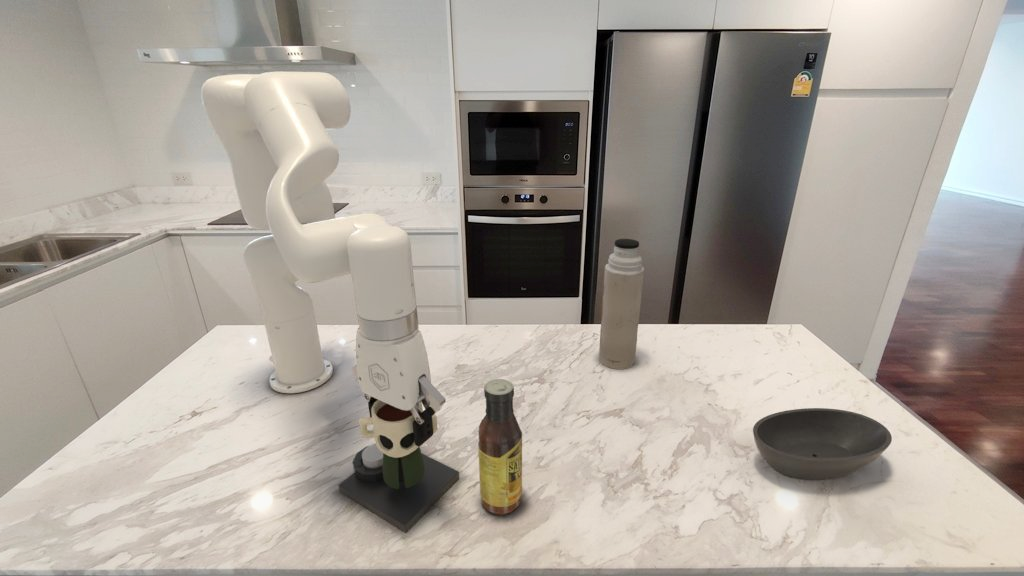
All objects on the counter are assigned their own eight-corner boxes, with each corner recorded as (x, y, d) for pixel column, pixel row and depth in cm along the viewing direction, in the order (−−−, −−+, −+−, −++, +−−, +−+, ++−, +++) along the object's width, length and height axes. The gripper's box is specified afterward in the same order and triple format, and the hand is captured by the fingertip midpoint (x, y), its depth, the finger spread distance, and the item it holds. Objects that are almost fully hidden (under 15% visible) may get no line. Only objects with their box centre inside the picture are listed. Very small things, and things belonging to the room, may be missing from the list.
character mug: (363, 497, 69) (352, 426, 64) (371, 461, 76) (361, 393, 70) (440, 491, 70) (435, 420, 65) (441, 455, 77) (436, 388, 71)
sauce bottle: (517, 520, 69) (516, 405, 61) (475, 513, 70) (469, 399, 62) (525, 486, 74) (525, 377, 67) (486, 480, 76) (482, 372, 68)
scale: (333, 488, 75) (330, 473, 73) (390, 443, 84) (388, 429, 83) (406, 533, 67) (403, 517, 66) (459, 478, 76) (458, 463, 75)
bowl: (729, 446, 82) (735, 416, 80) (843, 431, 85) (852, 402, 83) (776, 501, 71) (784, 469, 69) (904, 482, 74) (917, 450, 72)
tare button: (357, 463, 76) (356, 455, 75) (376, 448, 79) (375, 440, 78) (375, 472, 74) (374, 465, 73) (394, 457, 77) (393, 449, 76)
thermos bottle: (592, 362, 108) (600, 242, 97) (608, 347, 114) (616, 233, 103) (626, 373, 103) (637, 249, 93) (640, 357, 109) (652, 239, 99)
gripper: (321, 316, 64) (341, 423, 71) (418, 351, 55) (430, 468, 62) (365, 297, 70) (379, 397, 77) (458, 326, 61) (465, 436, 68)
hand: (401, 429), depth 69 cm, fingers closed on character mug, 8 cm apart
